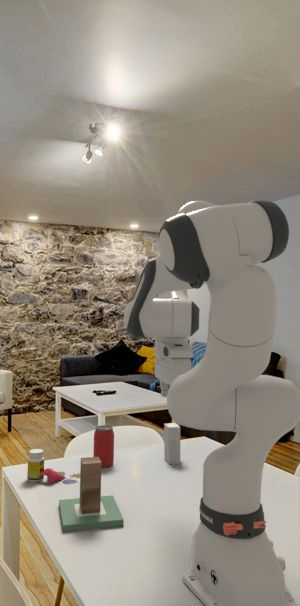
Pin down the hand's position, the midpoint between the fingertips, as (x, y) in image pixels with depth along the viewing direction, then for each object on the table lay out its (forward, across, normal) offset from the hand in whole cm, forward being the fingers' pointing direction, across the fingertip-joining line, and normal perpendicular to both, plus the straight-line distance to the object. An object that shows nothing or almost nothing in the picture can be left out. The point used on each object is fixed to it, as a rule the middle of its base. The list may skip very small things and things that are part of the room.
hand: (170, 400), depth 121 cm
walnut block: (+26, +3, -21) cm, 33 cm away
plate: (+27, +3, -21) cm, 34 cm away
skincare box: (+27, -31, +11) cm, 43 cm away
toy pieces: (+28, -23, -25) cm, 44 cm away
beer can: (+27, -32, -12) cm, 44 cm away
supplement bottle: (+27, -23, -33) cm, 49 cm away
